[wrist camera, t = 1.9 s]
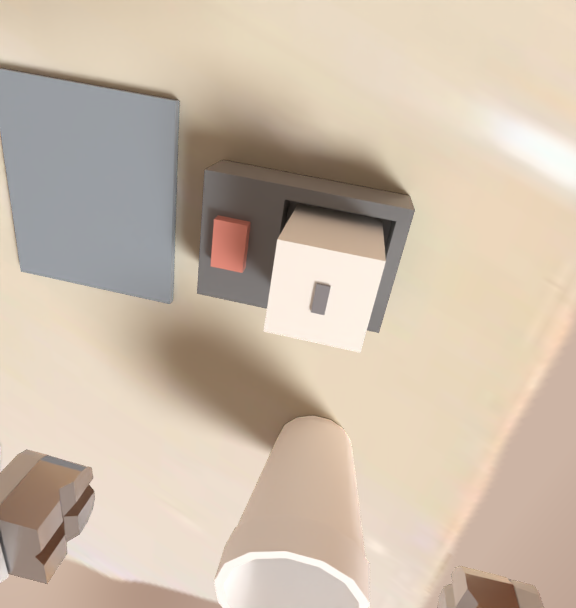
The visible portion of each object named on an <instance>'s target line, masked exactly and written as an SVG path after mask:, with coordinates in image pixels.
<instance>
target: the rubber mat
mask: <svg viewBox="0 0 576 608" xmlns="http://www.w3.org/2000/svg"><path fill="white" fill-rule="evenodd" d="M178 130H179V100H174V99H168V98H163V97H157V96H152V95H146V94H141V93H135V92H130V91H124V90H119V89H113V88H108V87H102V86H97V85H91V84H86V83H80V82H75V81H69V80H64V79H58V78H53V77H47V76H42V75H37V74H31V73H26V72H20V71H15V70H9V69H4V68H0V133H1V139H2V146H3V153H4V160H5V167H6V173H7V180H8V187H9V194H10V201H11V207H12V214H13V221H14V228H15V234H16V241H17V248H18V255H19V262H20V268H21V272H26V273H31V274H35V275H40V276H44V277H49V278H53V279H58V280H63V281H67V282H72V283H76V284H81V285H85V286H90V287H94V288H99V289H104V290H108V291H113V292H117V293H122V294H126V295H131V296H136V297H140V298H145V299H149V300H154V301H158V302H163V303H167V304H170V303H171V302H172V301H173V285H174V254H175V223H176V192H177V161H178Z"/></svg>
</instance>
